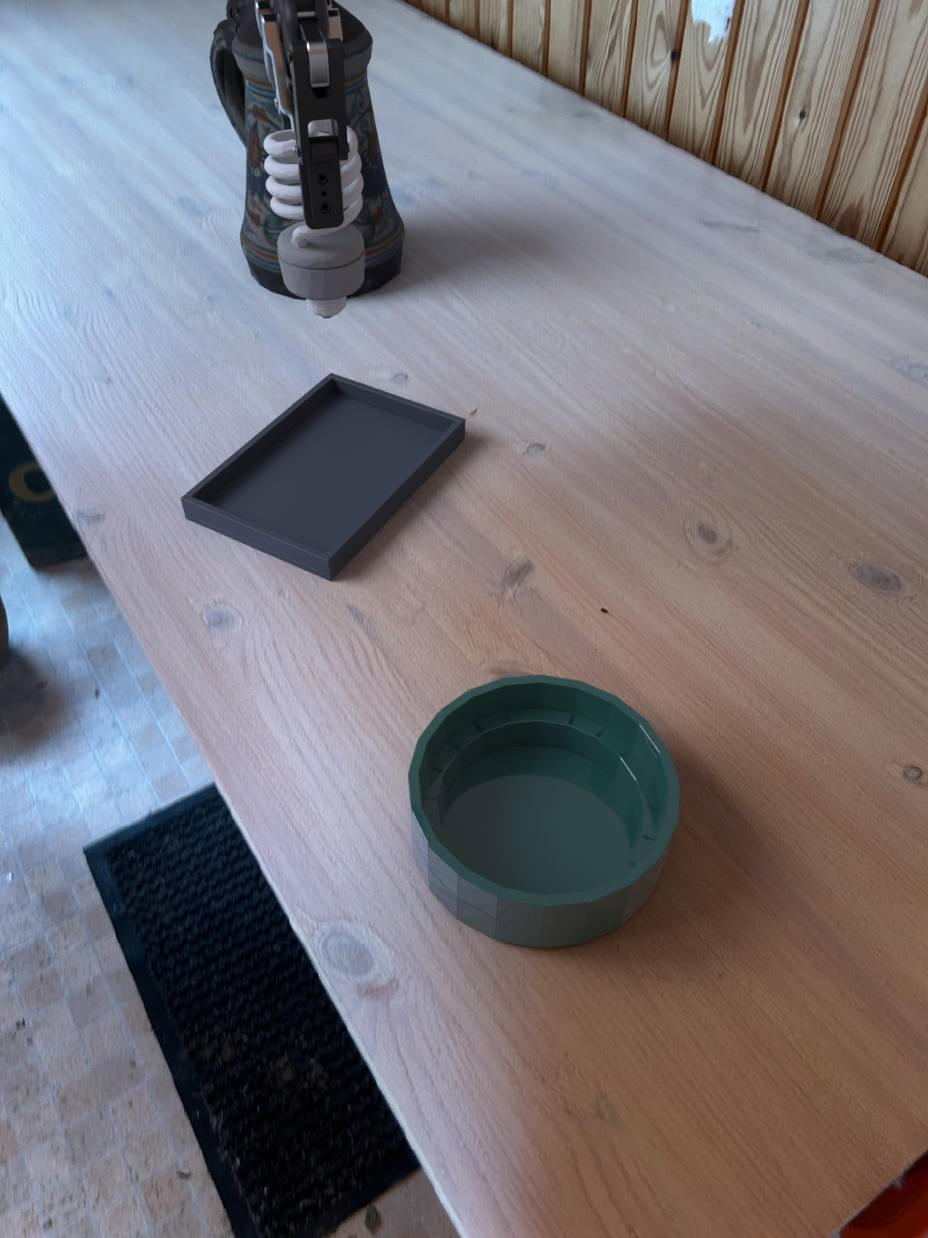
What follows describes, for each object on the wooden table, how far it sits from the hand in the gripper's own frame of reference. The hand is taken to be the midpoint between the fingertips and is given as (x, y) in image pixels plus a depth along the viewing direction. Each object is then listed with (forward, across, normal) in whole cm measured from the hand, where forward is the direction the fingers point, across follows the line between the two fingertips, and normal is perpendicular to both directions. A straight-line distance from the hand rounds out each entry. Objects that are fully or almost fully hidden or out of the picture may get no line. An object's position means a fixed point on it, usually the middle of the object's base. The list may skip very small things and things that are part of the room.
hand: (315, 201), depth 57 cm
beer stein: (+23, -38, +4) cm, 45 cm away
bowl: (+23, +31, +5) cm, 39 cm away
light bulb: (+8, 0, 0) cm, 8 cm away
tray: (+23, -3, 0) cm, 23 cm away
